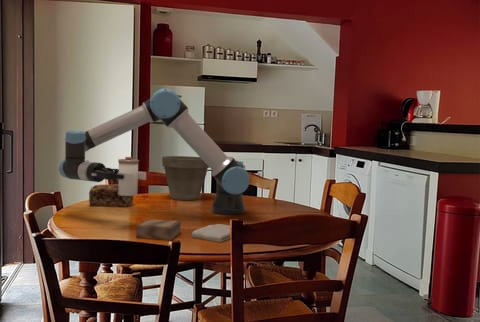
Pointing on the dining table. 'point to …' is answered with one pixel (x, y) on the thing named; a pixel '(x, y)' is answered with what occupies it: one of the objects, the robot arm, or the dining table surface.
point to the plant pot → (184, 176)
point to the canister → (128, 167)
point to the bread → (108, 196)
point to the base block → (158, 229)
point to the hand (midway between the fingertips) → (138, 176)
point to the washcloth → (213, 233)
